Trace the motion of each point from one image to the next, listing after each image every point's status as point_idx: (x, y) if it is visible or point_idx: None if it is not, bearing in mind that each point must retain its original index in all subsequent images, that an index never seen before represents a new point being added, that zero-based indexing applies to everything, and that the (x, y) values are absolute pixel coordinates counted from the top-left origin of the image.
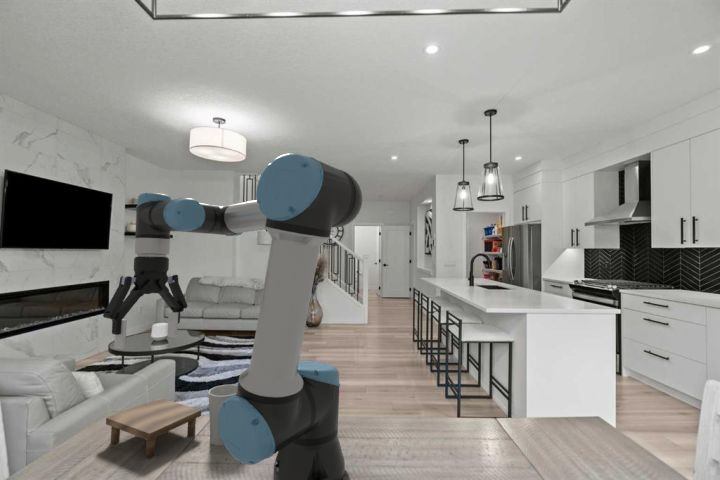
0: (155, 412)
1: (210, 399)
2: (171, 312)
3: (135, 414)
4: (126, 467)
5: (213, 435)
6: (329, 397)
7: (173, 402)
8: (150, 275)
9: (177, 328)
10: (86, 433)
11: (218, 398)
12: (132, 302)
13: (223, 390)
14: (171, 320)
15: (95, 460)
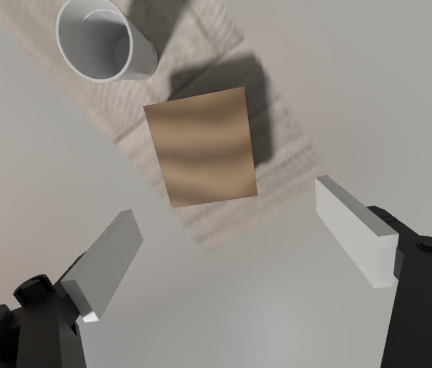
0: (201, 158)
1: (136, 46)
2: (90, 303)
3: (225, 175)
4: (264, 96)
5: (152, 52)
6: None
7: (164, 174)
8: None
9: (106, 229)
10: (255, 224)
11: (125, 16)
12: (424, 346)
13: (92, 75)
14: (110, 269)
15: (278, 146)
